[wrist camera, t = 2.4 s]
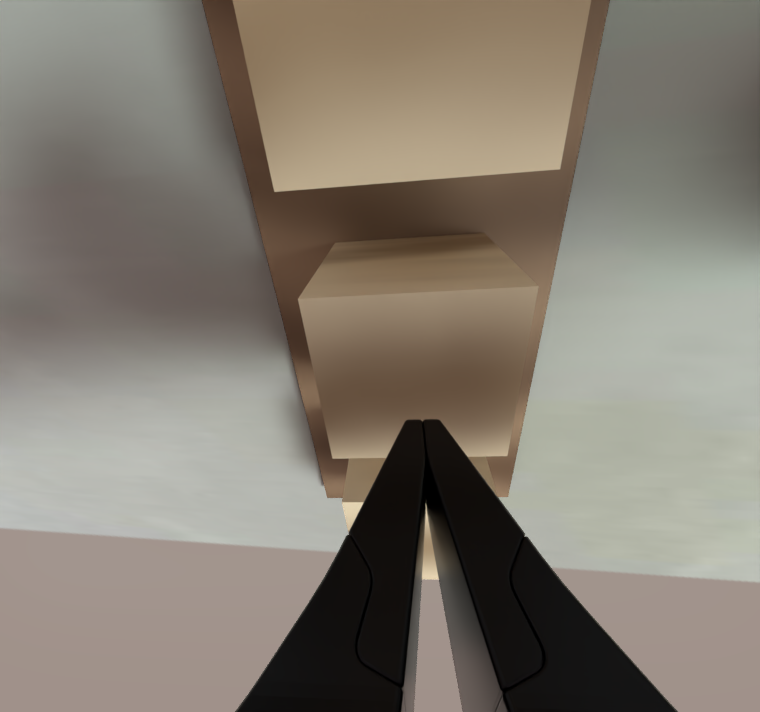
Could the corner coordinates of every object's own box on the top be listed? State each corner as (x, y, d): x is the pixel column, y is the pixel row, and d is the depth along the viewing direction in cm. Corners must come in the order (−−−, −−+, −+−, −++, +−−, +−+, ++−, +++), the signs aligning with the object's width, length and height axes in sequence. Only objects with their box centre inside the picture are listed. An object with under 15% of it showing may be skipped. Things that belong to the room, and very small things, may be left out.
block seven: (285, -73, 9) (145, -344, 4) (514, -105, 9) (675, -459, 4) (321, 174, 12) (267, 192, 7) (490, 160, 12) (559, 169, 7)
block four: (355, 403, 18) (338, 502, 13) (469, 399, 18) (498, 501, 13) (365, 475, 21) (355, 578, 16) (463, 474, 21) (484, 580, 16)
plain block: (335, 242, 14) (298, 299, 9) (484, 232, 13) (538, 286, 8) (352, 364, 17) (332, 458, 12) (473, 360, 16) (507, 456, 11)
